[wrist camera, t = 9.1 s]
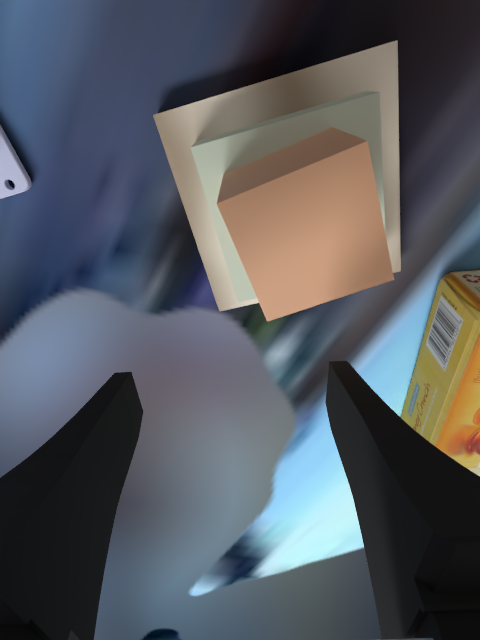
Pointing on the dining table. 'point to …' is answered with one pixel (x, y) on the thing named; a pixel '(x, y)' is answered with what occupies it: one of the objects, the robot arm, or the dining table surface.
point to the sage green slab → (271, 136)
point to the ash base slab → (268, 103)
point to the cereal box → (450, 372)
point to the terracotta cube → (307, 222)
